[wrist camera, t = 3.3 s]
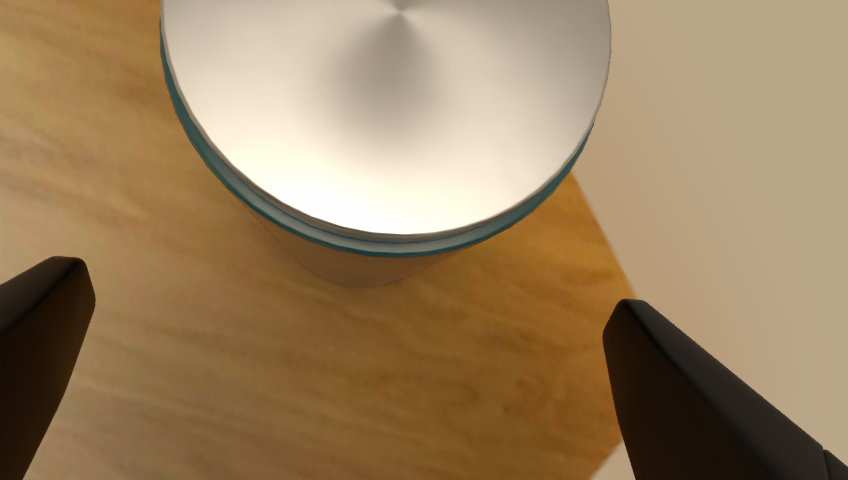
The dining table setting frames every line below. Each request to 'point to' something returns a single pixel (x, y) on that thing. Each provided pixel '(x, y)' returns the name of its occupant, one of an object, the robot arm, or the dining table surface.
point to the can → (386, 117)
